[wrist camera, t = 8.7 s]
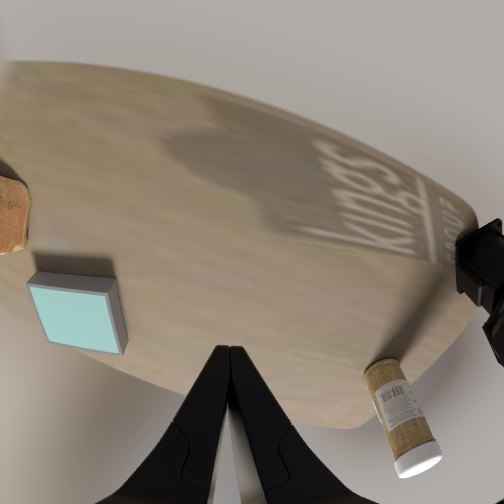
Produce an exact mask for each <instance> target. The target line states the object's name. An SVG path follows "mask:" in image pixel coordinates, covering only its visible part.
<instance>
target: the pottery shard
mask: <svg viewBox="0 0 504 504" xmlns="http://www.w3.org/2000/svg"><path fill="white" fill-rule="evenodd" d="M31 200H32V198H31V195H30V193H29V190H28V188H27V187H26V186H25V185H24V184H23V183H22V182H20V181H18V180H13V179H9V178H5V177H3V176H0V255H3V254H6V253H9V252H13V251H17V250H22V249H23V248H25V247H26V245H27V228H28V220H29V208H30V203H31Z"/></svg>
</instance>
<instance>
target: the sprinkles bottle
mask: <svg viewBox="0 0 504 504" xmlns="http://www.w3.org/2000/svg"><path fill="white" fill-rule="evenodd" d="M364 381H365V383H366V384H367V386H368V389H369V392H370V394H371V396H372V399H373V404H374V406H375V409H376V412H377V414H378V417H379V420H380V422H381V423H382V426H383V428H384V431H385V434H386V436H387V439H388V442H389V444H390V447H391V450H392V453H393V455H394V461H395V463H394V465H395V468H396V471H397V473H398V476H399V477H400V478H407V477H410V476H414V475H416V474H419V473H421V472H423V471H425V470H426V469H428V468H430V467H432V466H433V465H435V464H436V463H437V462H438V461H439V460H440V459H441V458H442V456H443V454H442V451H441V449H440V446H439V444H438V443H437V441H436V439H434V437H433V435H432V433H431V431H430V428H429V426H428V424H427V422H426V418H425V416H424V414H423V412H422V409H421V407H420V405H419V403H418V401H417V399H416V397H415V395H414V393H413V391H412V389H411V387H410V385H409V383H408V381H407V380H406V378H405V376H404V374H403V372H402V370H401V368H400V364H399V362H398V361H397V360H396V359H384V360H381V361H378V362H377V363H375V364H374V365H372V366H371V367H370V368H369V369H368V370H367V371H366V373H365V374H364Z"/></svg>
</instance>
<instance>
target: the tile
mask: <svg viewBox="0 0 504 504" xmlns="http://www.w3.org/2000/svg"><path fill="white" fill-rule="evenodd" d="M26 284H27V287H28V290H29V293H30V296H31V299H32V302H33V305H34V308H35V311H36V313H37V316H38V319H39V321H40V324H41V326H42V329H43V331H44V334H45V336H46V339H47V341H48V342H49V343H53V344H59V345H63V346H68V347H73V348H78V349H83V350H89V351H94V352H100V353H107V354H113V355H120V356H123V354H124V351H125V349H126V346H127V343H128V336H127V332H126V327H125V323H124V318H123V313H122V308H121V303H120V298H119V293H118V287H117V281H116V279H114V278H103V277H91V276H81V275H70V274H60V273H51V272H42V271H37V272H36V273H35V274H34V275H33V276H32V277H31V278H30V279H29V281H28V282H27V283H26Z"/></svg>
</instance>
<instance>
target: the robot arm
mask: <svg viewBox="0 0 504 504" xmlns="http://www.w3.org/2000/svg"><path fill="white" fill-rule="evenodd" d="M460 245H461V246H460ZM456 284H457V292H458V293H459V294H462V293H464V292H465V294H466V295H467V296H468V297H469V298H470V299H471V300H472V301H473V302H474V303H475V305H476V306H478V307H480V306H482V307H483V308H484V309H485V310H486V311H487V312H488V313H489V315H490V317H489V318H488V320H487V322H485V323H484V325H483V327H482V328H483V330H484V332H485V335H486V337H487V339H488V341H489V343H490V345H491V348H492V350H493V352H494V355H495V357H496V359H497V361H498V363H499V364H501V365H502V366H503V367H504V235H503V234H502V221H501V220H500V219H499V218H497V219H495V220H493V221H492V222H490V223H488V224H487V225H485V226H483V227H481V228H479V229H478V230H476V231H474V232H472V233H470V234H469V235H467V236H465V237H463V238H461V239H459V240H458V241H457V242H456ZM227 409H228V419H229V426H230V433H231V440H232V447H233V454H234V461H235V467H236V473H237V480H238V486H239V492H240V497H241V504H379V503H376V502H374V501H371V500H369V499H366V498H364V497H361V496H359V495H357V494H356V493H354V492H352V491H351V490H350V489H348V488H347V487H346V486H345V485H344V484H343V483H342V482H341V481H340V480H339V479H338V478H337V477H336V476H335V475H334V474H333V473H332V472H331V471H330V470H329V469H328V468H327V467H326V466H325V465H324V464H323V463H322V461H320V459H319V458H318V457H317V456H316V455H315V454H314V453H313V451H312V450H311V449H310V448H309V447H308V446H307V444H306V443H305V441H304V440H303V439H302V437H301V436H300V435H299V433H298V432H297V430H296V429H295V427H294V426H293V425H291V422H290V420H289V418H288V417H287V415H286V414H285V412H284V411H283V409H282V408H281V406H280V405H279V403H278V402H277V400H276V399H275V397H274V395H273V394H272V392H271V391H270V389H269V388H268V386H267V384H266V383H265V381H264V380H263V378H262V377H261V375H260V373H259V372H258V370H257V369H256V367H255V365H254V364H253V362H252V360H251V359H250V357H249V356H248V354H247V352H246V351H245V349H244V348H243V347H242V346H230V348H229V346H227V345H217V346H216V347H215V348H214V350H213V352H212V353H211V355H210V357H209V359H208V360H207V362H206V364H205V366H204V367H203V369H202V371H201V372H200V374H199V376H198V378H197V379H196V381H195V383H194V384H193V386H192V388H191V390H190V391H189V393H188V395H187V396H186V398H185V400H184V401H183V403H182V405H181V407H180V408H179V410H178V412H177V413H176V415H175V417H174V418H173V421H172V422H171V423H170V425H169V426H168V428H167V430H166V431H165V433H164V435H163V436H162V438H161V439H160V441H159V442H158V444H157V445H156V446H155V447H154V449H153V450H152V451H151V453H150V454H149V455H148V456H147V457H146V459H145V460H144V461H143V462H142V463H141V465H140V466H139V467H138V468H137V469H136V471H135V472H134V473H133V474H132V475H131V476H130V477H129V478H128V480H127V481H126V482H125V483H124V484H123V485H122V486H121V487H120V488H119V489H118V490H116V491H115V492H114V493H112V494H111V495H109V496H108V497H106V498H104V499H103V500H101V501H98V502H96V503H95V504H213V499H214V492H215V485H216V479H217V472H218V464H219V459H220V452H221V446H222V439H223V432H224V426H225V419H226V412H227ZM495 504H504V498H503V499H502V500H500V501H498V502H497V503H495Z"/></svg>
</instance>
